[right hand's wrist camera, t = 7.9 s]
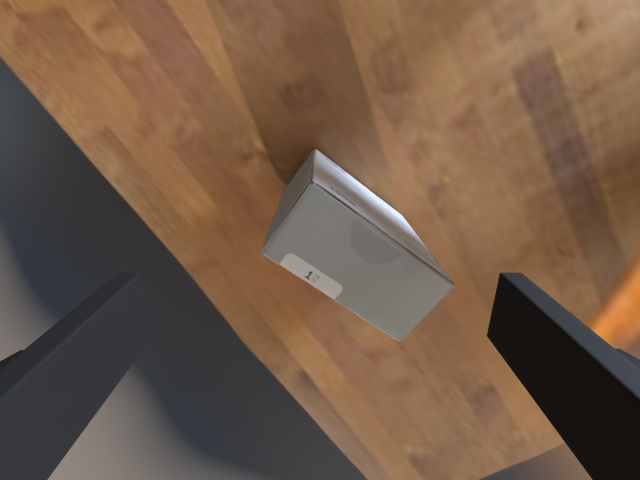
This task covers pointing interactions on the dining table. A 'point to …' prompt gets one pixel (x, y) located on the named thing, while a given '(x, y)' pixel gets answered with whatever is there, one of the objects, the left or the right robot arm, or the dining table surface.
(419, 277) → the hard drive box
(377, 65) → the dining table surface
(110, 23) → the dining table surface
